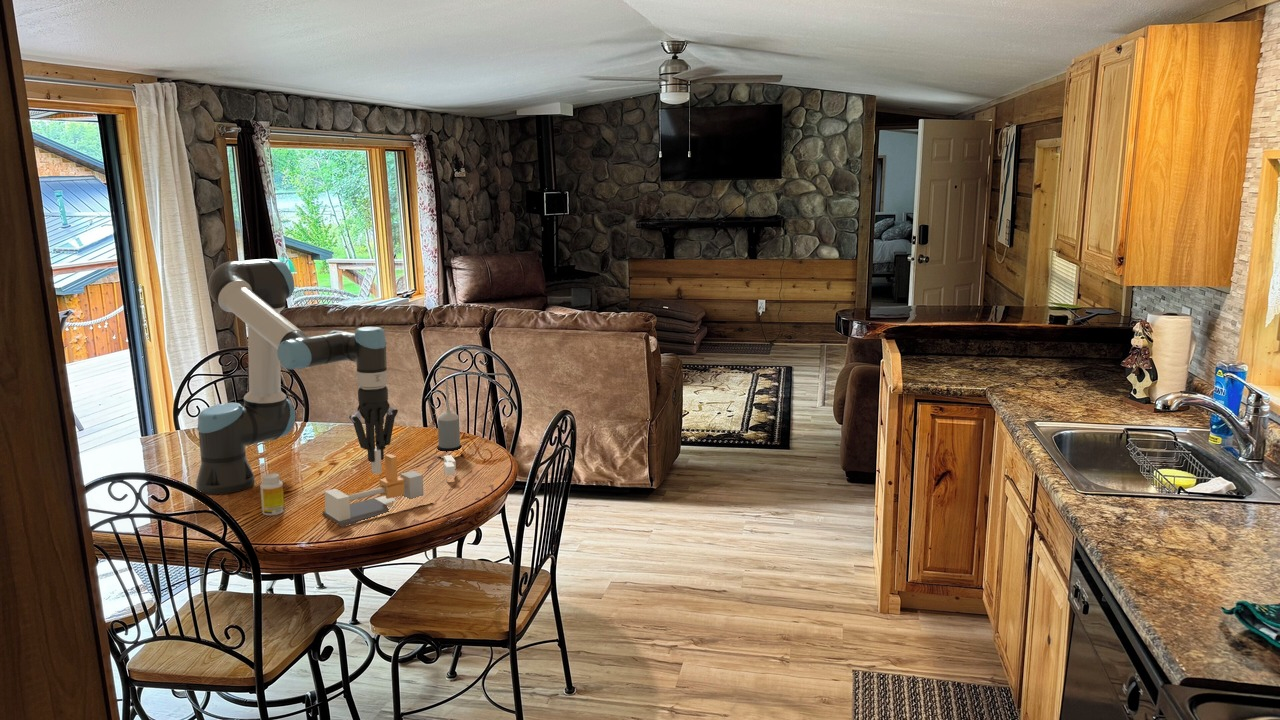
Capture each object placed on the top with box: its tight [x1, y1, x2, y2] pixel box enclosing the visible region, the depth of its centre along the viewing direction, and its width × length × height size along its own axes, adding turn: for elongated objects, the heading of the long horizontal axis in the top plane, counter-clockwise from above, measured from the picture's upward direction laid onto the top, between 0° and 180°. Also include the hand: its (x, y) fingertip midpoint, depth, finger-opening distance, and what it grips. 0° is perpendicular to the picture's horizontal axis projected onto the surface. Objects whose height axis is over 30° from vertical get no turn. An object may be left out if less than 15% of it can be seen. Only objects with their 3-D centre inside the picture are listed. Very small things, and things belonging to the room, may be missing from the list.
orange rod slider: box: [379, 453, 404, 499], centre depth 235 cm, size 5×4×11 cm
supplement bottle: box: [259, 472, 286, 517], centre depth 229 cm, size 6×6×10 cm
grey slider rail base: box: [322, 470, 425, 528], centre depth 233 cm, size 26×12×8 cm, turn 134°
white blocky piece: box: [443, 455, 457, 476], centre depth 260 cm, size 15×11×6 cm
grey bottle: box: [436, 379, 463, 452], centre depth 280 cm, size 8×8×25 cm
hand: (376, 472), depth 232 cm, fingers closed
